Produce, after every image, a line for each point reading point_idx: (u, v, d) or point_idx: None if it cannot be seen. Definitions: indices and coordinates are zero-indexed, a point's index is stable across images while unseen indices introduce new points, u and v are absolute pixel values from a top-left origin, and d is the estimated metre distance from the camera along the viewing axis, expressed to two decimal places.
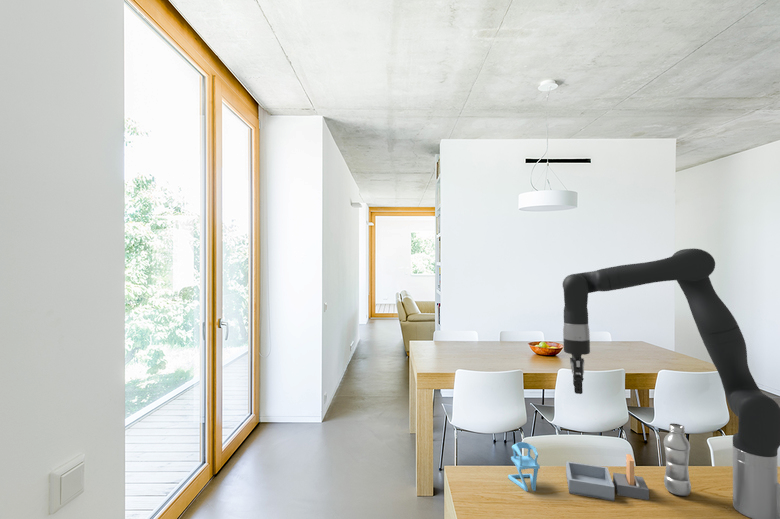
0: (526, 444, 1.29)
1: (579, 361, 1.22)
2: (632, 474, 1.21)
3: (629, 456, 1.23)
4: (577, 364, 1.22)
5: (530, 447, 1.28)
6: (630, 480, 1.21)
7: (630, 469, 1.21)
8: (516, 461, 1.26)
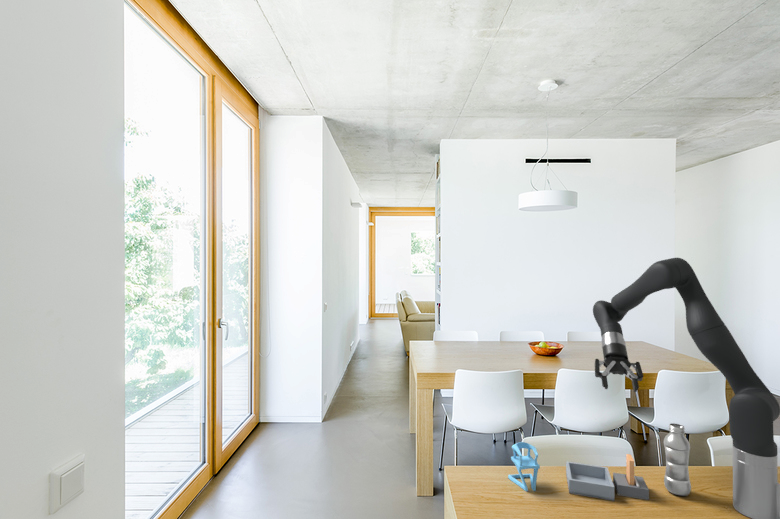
0: (526, 444, 1.29)
1: None
2: (632, 474, 1.21)
3: (629, 456, 1.23)
4: (595, 363, 1.44)
5: (530, 447, 1.28)
6: (630, 480, 1.21)
7: (630, 469, 1.21)
8: (516, 461, 1.26)
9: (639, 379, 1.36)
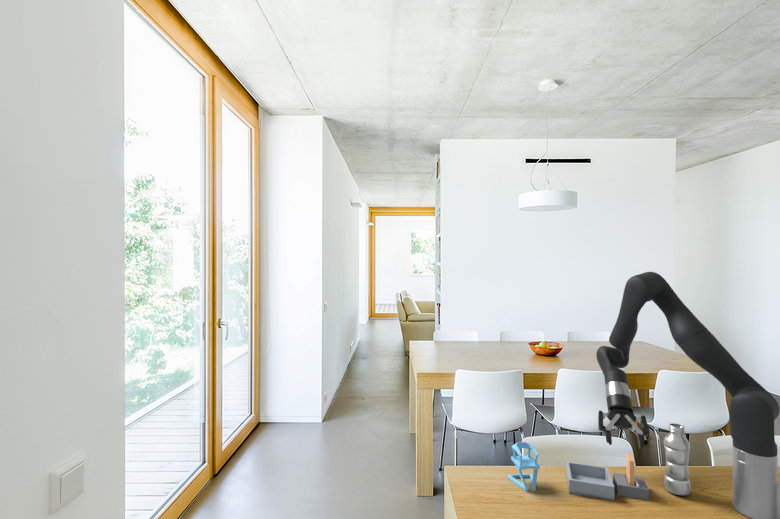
0: (526, 444, 1.29)
1: None
2: (632, 474, 1.21)
3: (629, 456, 1.23)
4: (598, 415, 1.38)
5: (530, 447, 1.28)
6: (630, 480, 1.21)
7: (630, 469, 1.21)
8: (516, 461, 1.26)
9: (645, 435, 1.30)
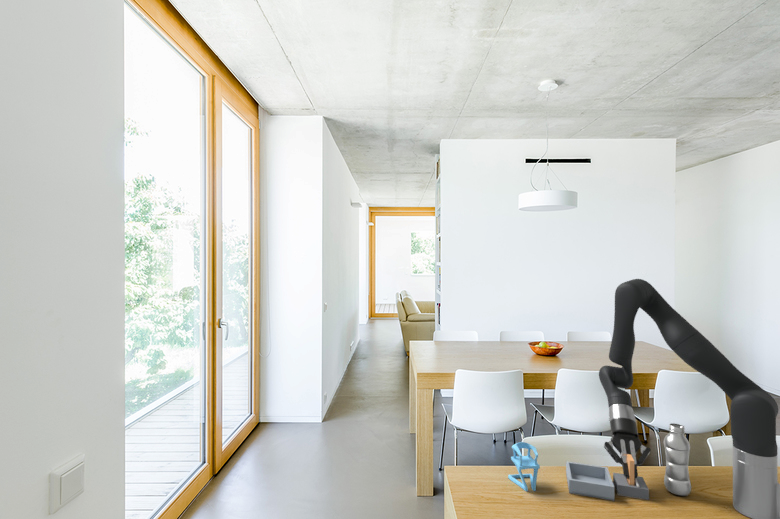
0: (526, 444, 1.29)
1: (604, 444, 1.29)
2: (632, 474, 1.20)
3: (629, 456, 1.23)
4: (606, 447, 1.29)
5: (530, 447, 1.28)
6: (630, 480, 1.21)
7: (630, 469, 1.21)
8: (516, 461, 1.26)
9: (638, 464, 1.23)
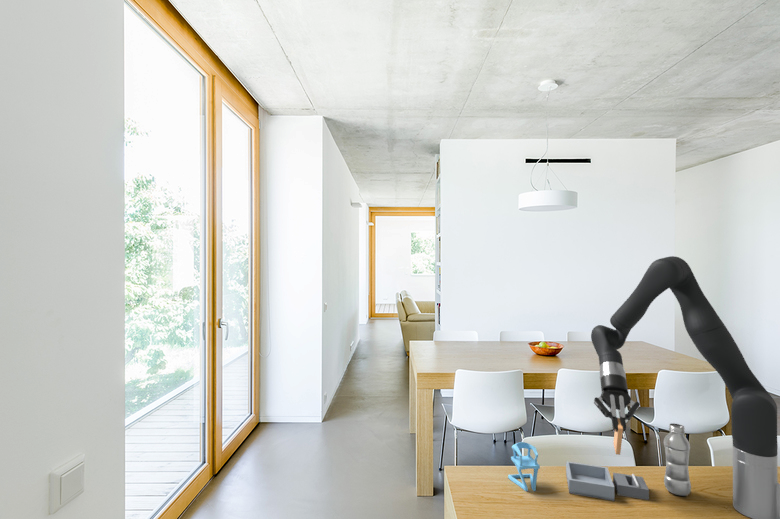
0: (526, 444, 1.29)
1: (594, 400, 1.30)
2: (620, 439, 1.23)
3: (618, 421, 1.24)
4: (595, 403, 1.30)
5: (530, 447, 1.28)
6: (617, 443, 1.24)
7: (618, 435, 1.22)
8: (516, 461, 1.26)
9: (627, 418, 1.24)
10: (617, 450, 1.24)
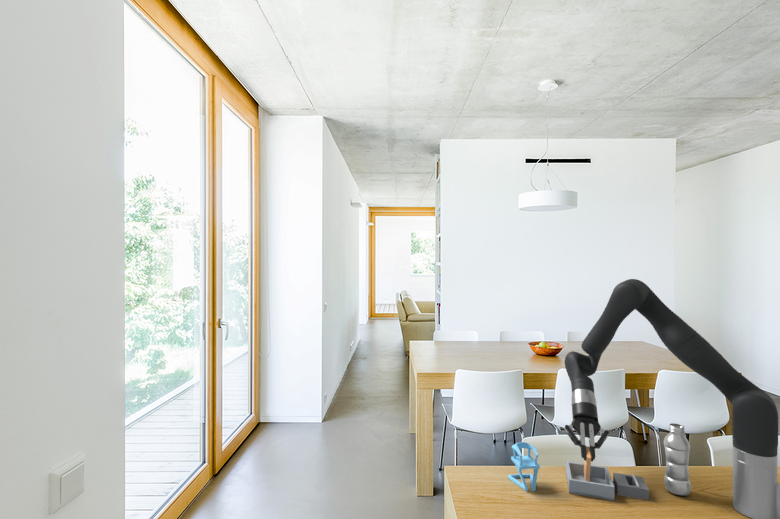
0: (526, 444, 1.29)
1: (565, 427, 1.32)
2: (588, 467, 1.24)
3: (587, 450, 1.25)
4: (566, 430, 1.31)
5: (530, 447, 1.28)
6: (586, 472, 1.25)
7: (587, 464, 1.24)
8: (516, 461, 1.26)
9: (596, 447, 1.26)
10: (586, 478, 1.26)
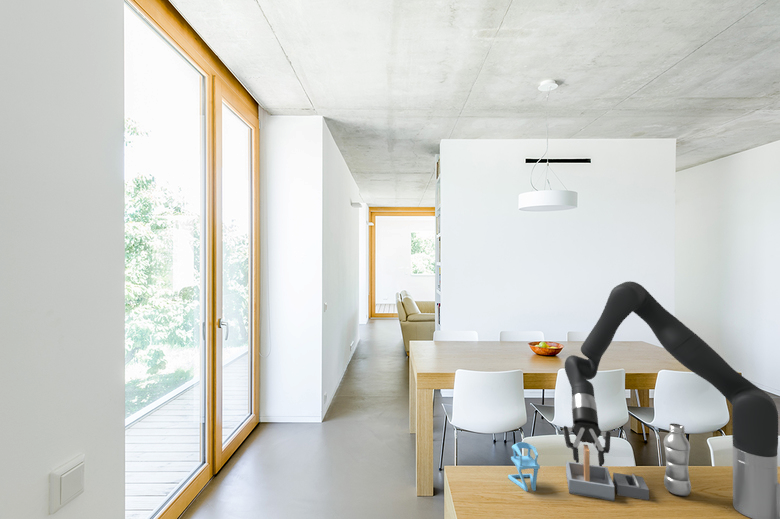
0: (526, 444, 1.29)
1: None
2: (587, 463, 1.26)
3: (585, 446, 1.29)
4: (563, 431, 1.33)
5: (530, 447, 1.28)
6: (586, 469, 1.26)
7: (586, 458, 1.26)
8: (516, 461, 1.26)
9: (605, 451, 1.25)
10: (586, 478, 1.26)
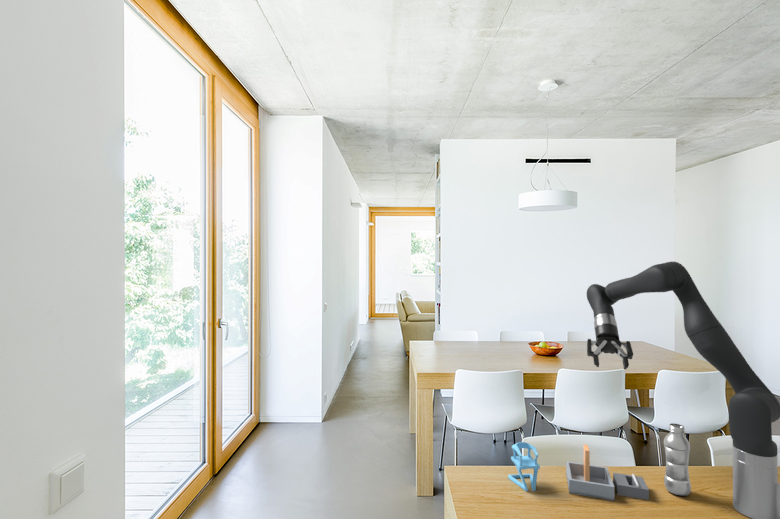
0: (526, 444, 1.29)
1: None
2: (587, 463, 1.26)
3: (586, 446, 1.29)
4: (587, 343, 1.49)
5: (530, 447, 1.28)
6: (586, 469, 1.26)
7: (586, 458, 1.26)
8: (516, 461, 1.26)
9: (629, 357, 1.41)
10: (586, 478, 1.26)
